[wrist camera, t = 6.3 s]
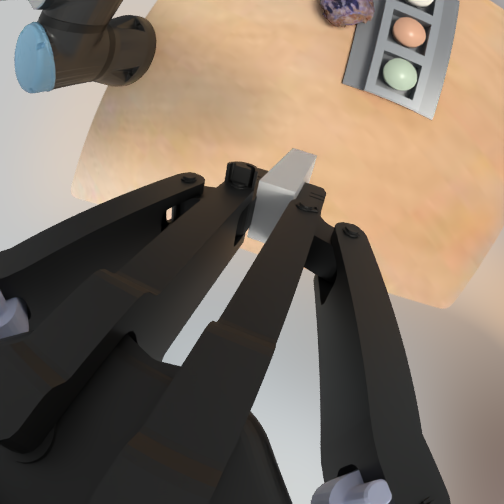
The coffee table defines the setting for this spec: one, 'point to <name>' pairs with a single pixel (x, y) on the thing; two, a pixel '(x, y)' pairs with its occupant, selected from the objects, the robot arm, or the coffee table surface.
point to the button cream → (419, 3)
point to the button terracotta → (408, 32)
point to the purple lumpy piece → (348, 11)
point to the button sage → (399, 74)
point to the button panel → (404, 53)
